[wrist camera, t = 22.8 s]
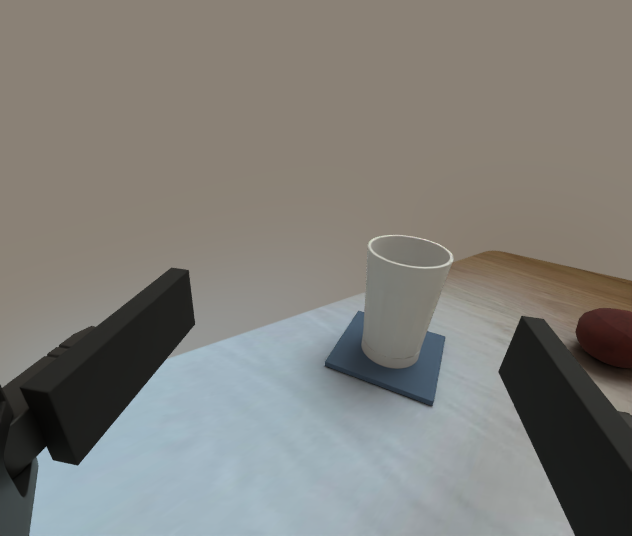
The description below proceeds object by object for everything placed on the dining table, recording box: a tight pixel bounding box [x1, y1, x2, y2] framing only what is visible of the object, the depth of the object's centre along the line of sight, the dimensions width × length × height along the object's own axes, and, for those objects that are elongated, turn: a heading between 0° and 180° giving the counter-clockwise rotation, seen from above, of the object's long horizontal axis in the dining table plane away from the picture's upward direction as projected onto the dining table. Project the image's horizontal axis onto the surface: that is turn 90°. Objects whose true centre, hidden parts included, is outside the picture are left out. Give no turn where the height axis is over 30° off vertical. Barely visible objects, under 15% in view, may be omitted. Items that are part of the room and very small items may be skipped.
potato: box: [576, 308, 632, 368], centre depth 38 cm, size 7×8×6 cm
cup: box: [361, 235, 453, 369], centre depth 34 cm, size 8×8×12 cm
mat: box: [325, 311, 445, 406], centre depth 37 cm, size 11×11×1 cm
